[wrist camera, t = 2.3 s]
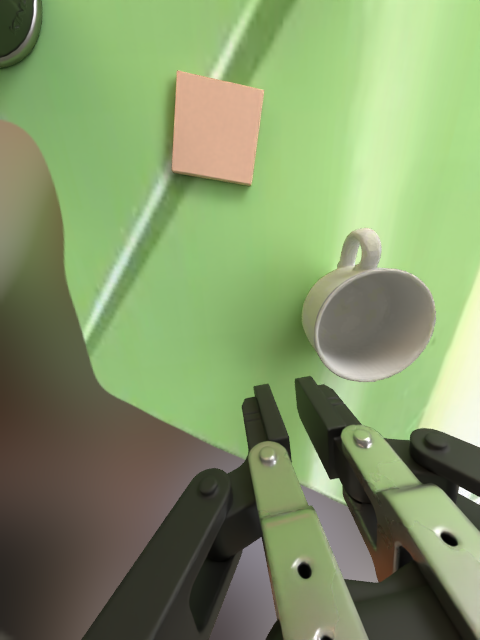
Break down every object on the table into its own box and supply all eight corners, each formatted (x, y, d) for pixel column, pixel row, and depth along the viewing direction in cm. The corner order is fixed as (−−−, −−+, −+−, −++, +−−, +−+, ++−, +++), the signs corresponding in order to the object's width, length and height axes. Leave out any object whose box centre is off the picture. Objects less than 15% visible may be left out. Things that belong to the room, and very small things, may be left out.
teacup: (371, 349, 31) (421, 382, 24) (287, 351, 30) (311, 387, 23) (392, 233, 27) (460, 227, 20) (296, 230, 26) (329, 224, 19)
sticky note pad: (172, 172, 24) (171, 170, 23) (178, 76, 22) (176, 69, 21) (250, 186, 25) (251, 184, 24) (262, 95, 23) (264, 89, 22)
